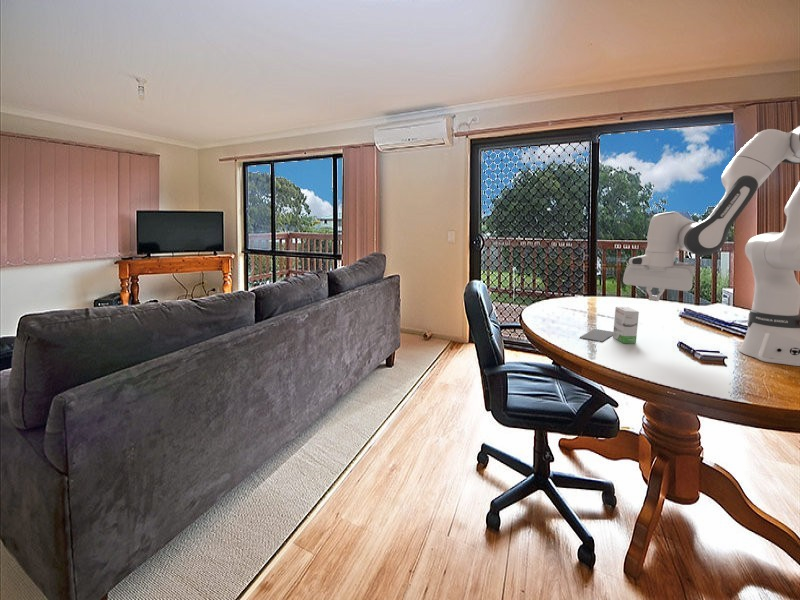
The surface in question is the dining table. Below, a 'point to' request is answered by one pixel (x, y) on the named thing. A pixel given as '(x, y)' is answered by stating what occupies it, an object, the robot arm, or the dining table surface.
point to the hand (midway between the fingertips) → (653, 300)
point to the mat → (597, 335)
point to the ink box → (625, 324)
